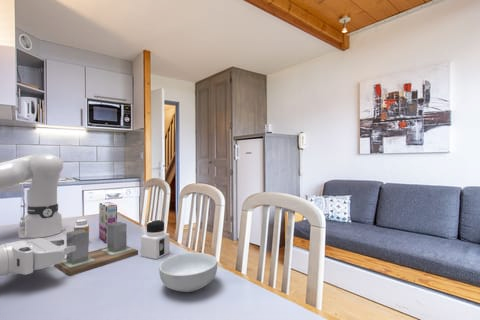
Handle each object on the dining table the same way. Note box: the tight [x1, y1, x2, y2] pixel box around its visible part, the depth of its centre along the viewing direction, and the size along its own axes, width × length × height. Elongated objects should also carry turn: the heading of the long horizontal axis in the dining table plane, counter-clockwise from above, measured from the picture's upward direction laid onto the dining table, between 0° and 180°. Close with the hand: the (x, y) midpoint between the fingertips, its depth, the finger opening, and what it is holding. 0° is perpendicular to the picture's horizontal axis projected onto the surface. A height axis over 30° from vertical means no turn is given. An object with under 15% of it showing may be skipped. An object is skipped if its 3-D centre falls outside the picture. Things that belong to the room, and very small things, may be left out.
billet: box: [106, 221, 128, 253], centre depth 104 cm, size 5×5×10 cm
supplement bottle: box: [73, 218, 90, 243], centre depth 116 cm, size 6×6×10 cm
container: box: [140, 219, 171, 260], centre depth 104 cm, size 8×8×13 cm
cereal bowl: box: [158, 252, 218, 293], centre depth 79 cm, size 17×17×7 cm
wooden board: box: [53, 245, 139, 277], centre depth 99 cm, size 13×24×2 cm, turn 143°
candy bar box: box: [98, 201, 118, 244], centre depth 122 cm, size 11×5×16 cm, turn 42°
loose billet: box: [66, 229, 89, 265], centre depth 93 cm, size 5×5×10 cm
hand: (69, 244), depth 91 cm, fingers open, 8 cm apart
